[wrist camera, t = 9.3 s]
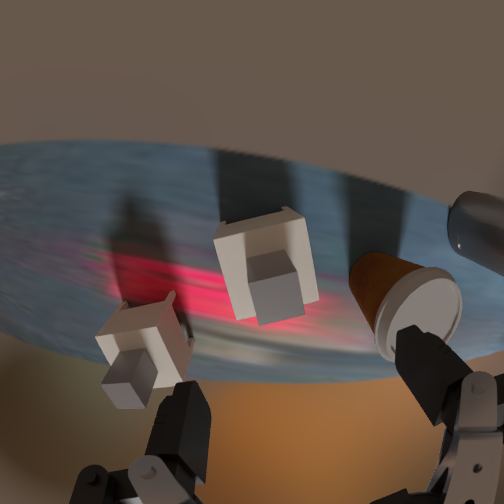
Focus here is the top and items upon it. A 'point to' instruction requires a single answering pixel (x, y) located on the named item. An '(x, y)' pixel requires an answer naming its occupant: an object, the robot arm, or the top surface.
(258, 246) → the cover
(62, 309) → the top surface
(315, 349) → the top surface
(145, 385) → the cover
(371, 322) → the disposable coffee cup
